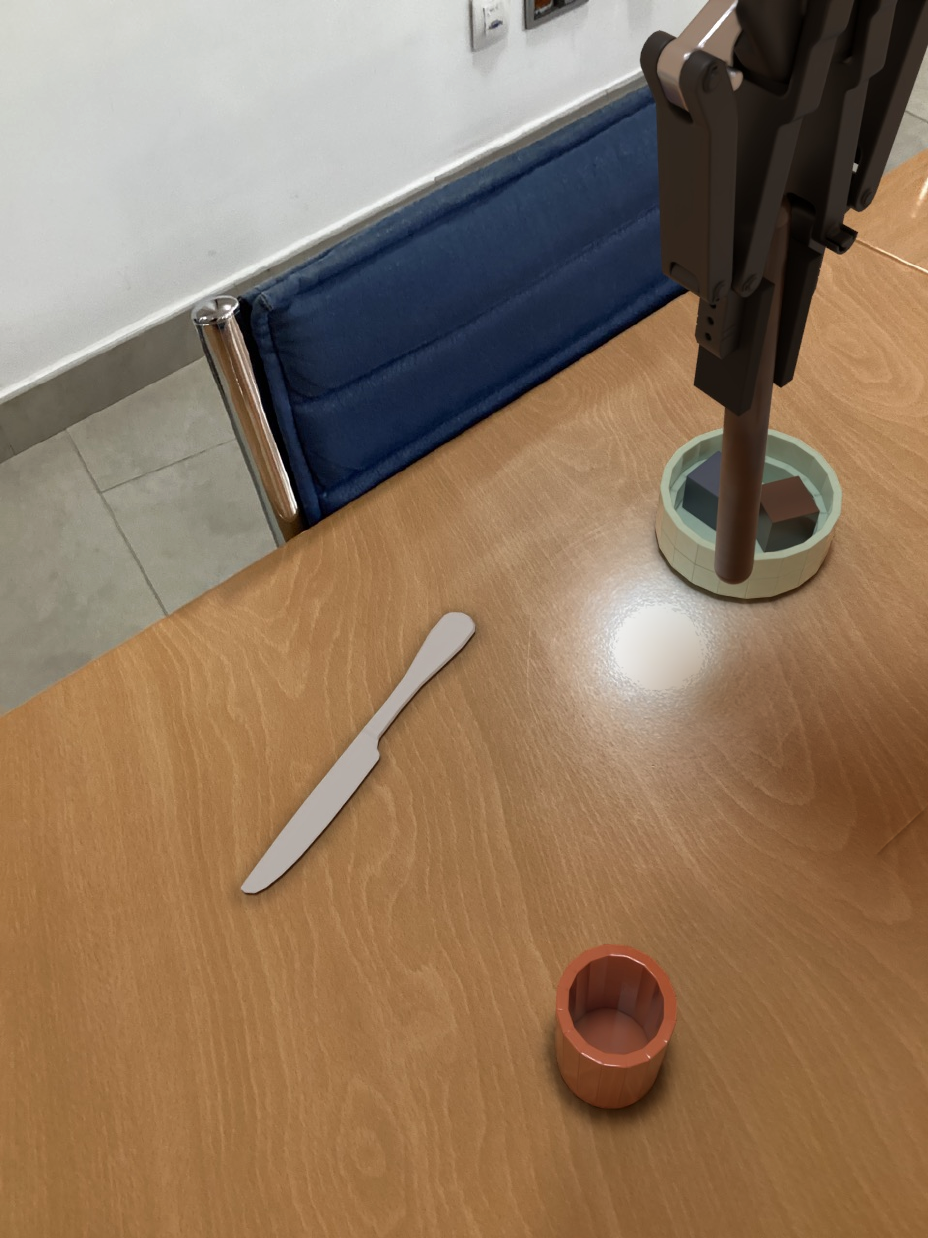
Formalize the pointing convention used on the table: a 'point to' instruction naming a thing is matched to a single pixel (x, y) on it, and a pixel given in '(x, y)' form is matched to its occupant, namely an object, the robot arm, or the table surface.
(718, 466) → the block
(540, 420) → the table surface
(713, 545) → the bowl
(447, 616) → the butter knife
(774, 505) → the block
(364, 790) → the table surface
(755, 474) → the stick
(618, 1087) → the holder
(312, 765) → the table surface
